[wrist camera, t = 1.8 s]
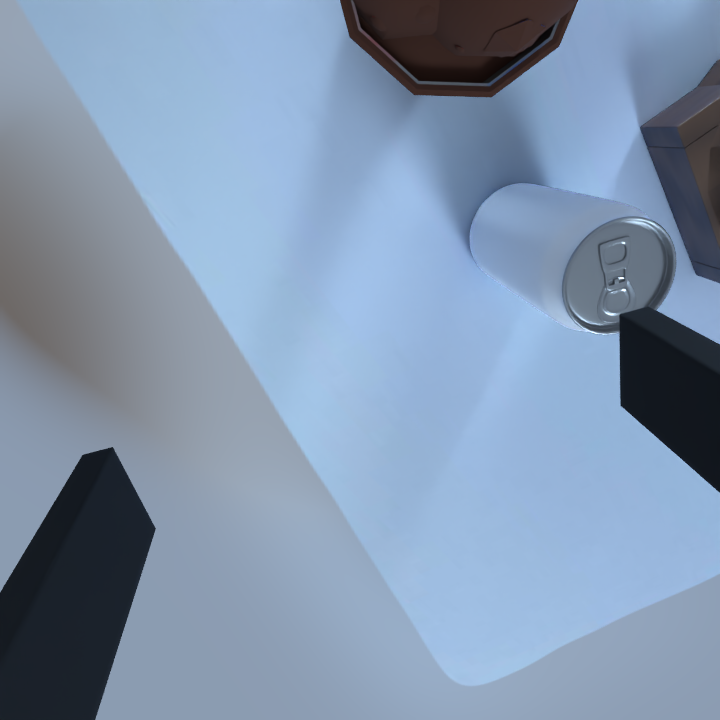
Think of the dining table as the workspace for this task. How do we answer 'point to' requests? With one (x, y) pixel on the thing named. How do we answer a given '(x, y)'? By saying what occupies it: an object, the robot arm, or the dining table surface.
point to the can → (573, 254)
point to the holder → (692, 169)
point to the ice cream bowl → (457, 40)
